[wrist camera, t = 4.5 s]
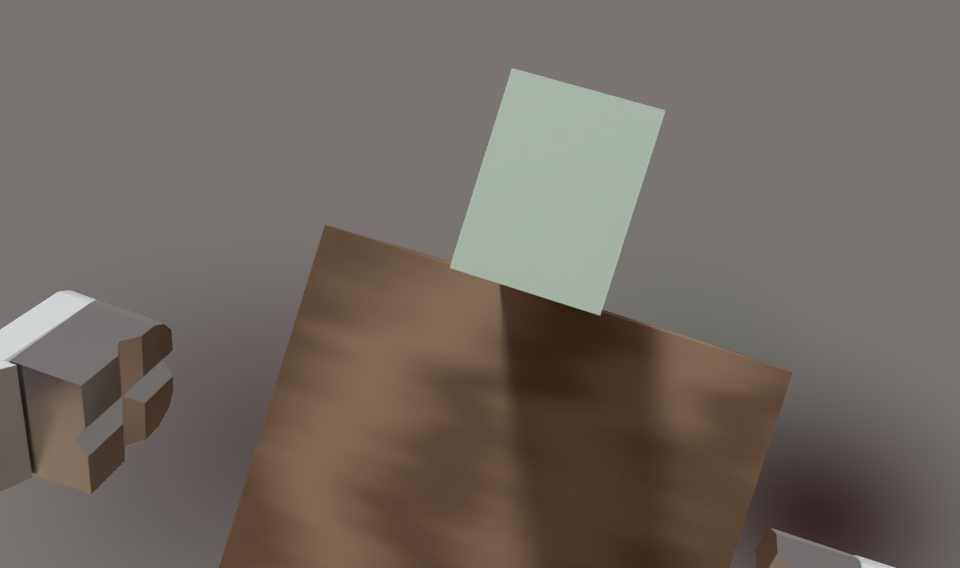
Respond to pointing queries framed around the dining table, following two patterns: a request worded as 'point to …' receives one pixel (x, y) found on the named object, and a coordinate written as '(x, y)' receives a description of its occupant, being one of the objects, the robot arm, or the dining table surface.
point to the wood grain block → (494, 429)
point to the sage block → (557, 190)
